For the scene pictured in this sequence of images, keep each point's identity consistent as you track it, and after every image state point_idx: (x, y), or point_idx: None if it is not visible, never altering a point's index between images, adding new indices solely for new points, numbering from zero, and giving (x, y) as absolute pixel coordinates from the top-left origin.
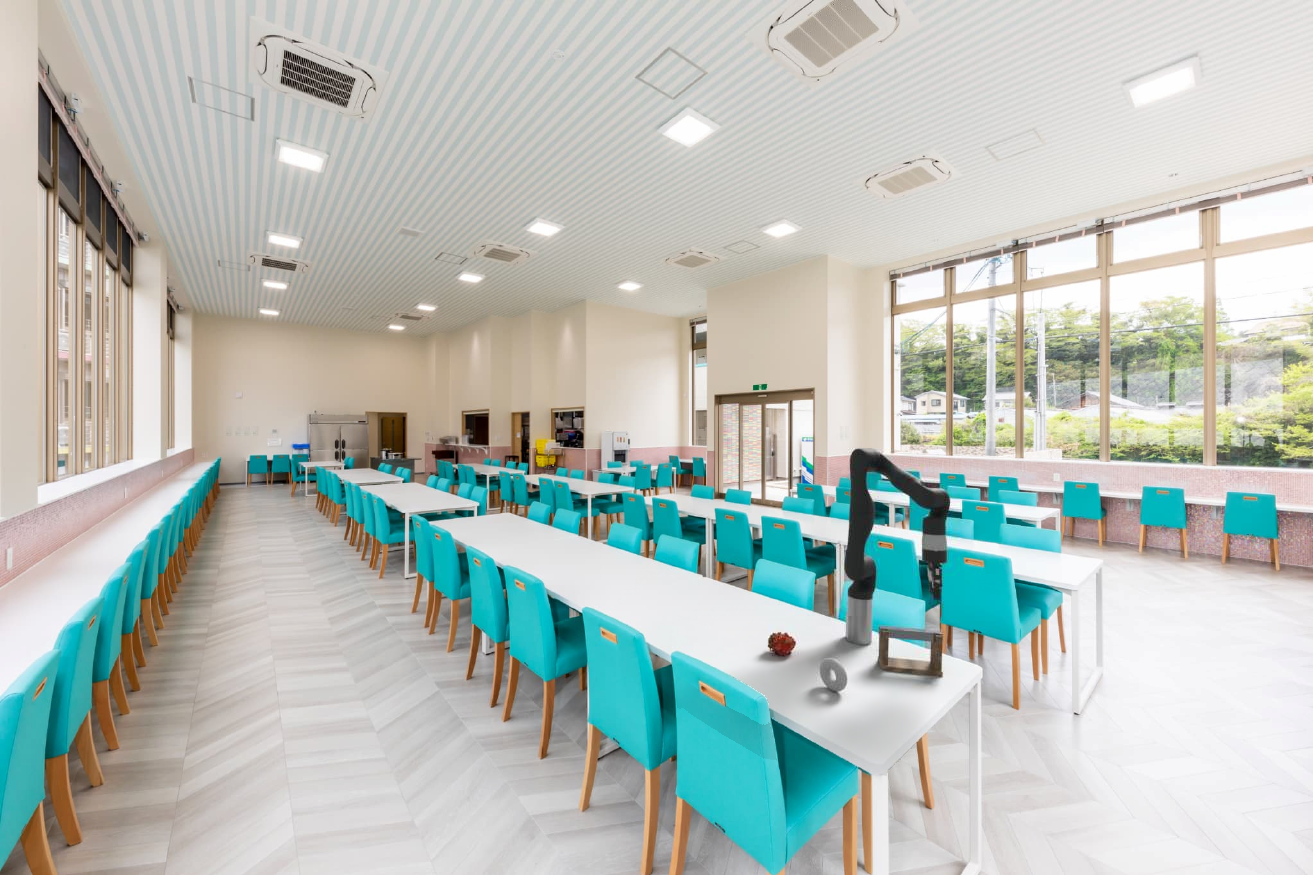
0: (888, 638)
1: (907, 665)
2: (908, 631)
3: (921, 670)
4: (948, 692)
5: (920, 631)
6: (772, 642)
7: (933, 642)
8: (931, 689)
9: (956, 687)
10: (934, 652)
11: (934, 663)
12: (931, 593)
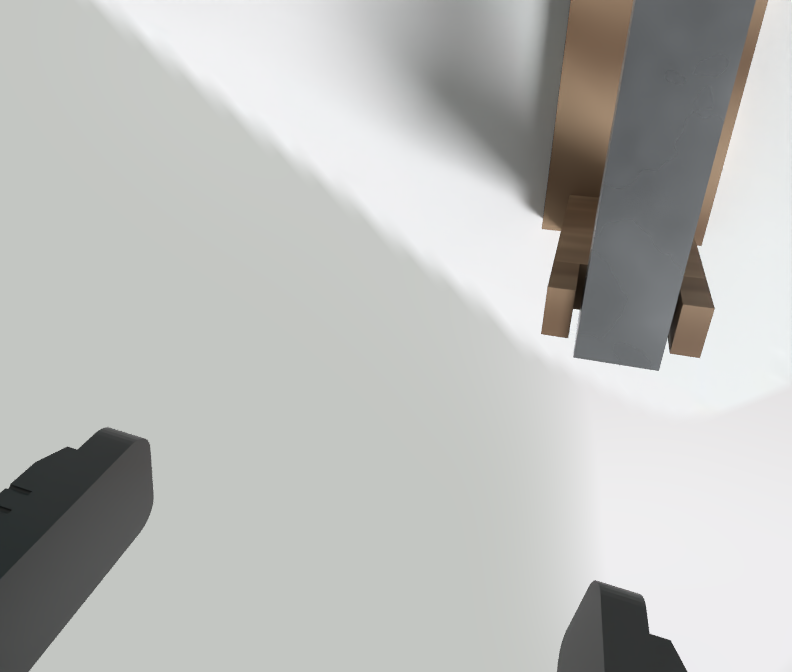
0: None
1: (625, 11)
2: (630, 31)
3: (559, 99)
4: (351, 171)
5: (619, 171)
6: None
7: None
8: (361, 88)
9: (418, 237)
10: (591, 233)
11: (586, 206)
12: (591, 590)
